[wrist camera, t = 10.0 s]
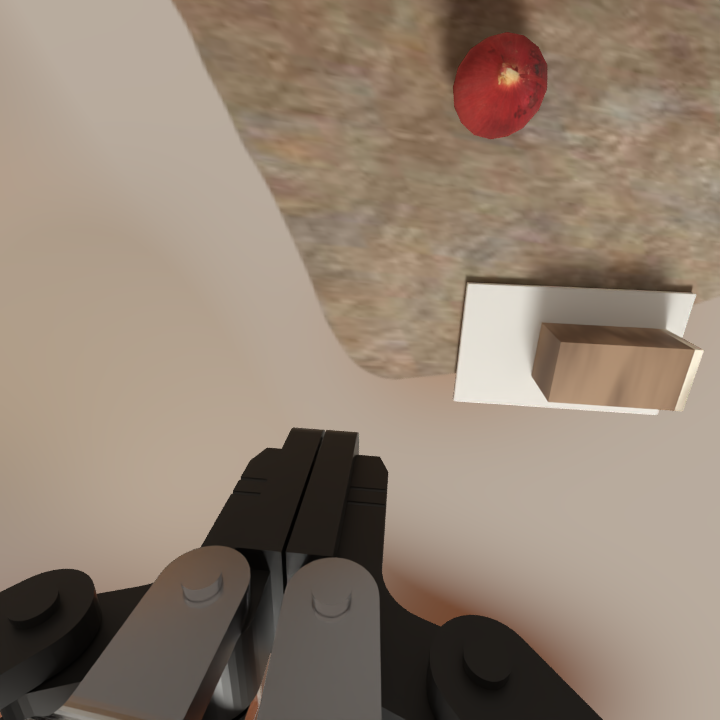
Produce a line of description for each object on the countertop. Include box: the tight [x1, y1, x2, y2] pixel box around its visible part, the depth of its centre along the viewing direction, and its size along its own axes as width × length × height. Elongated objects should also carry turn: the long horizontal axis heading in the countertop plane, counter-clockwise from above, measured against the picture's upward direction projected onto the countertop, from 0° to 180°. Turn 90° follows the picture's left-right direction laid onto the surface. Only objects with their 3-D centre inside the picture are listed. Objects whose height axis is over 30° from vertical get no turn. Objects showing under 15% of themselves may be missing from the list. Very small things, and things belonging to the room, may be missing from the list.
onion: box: [453, 32, 547, 139], centre depth 28 cm, size 6×6×8 cm
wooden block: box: [532, 322, 704, 411], centre depth 35 cm, size 5×5×10 cm
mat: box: [453, 282, 696, 415], centre depth 38 cm, size 18×11×1 cm, turn 88°
